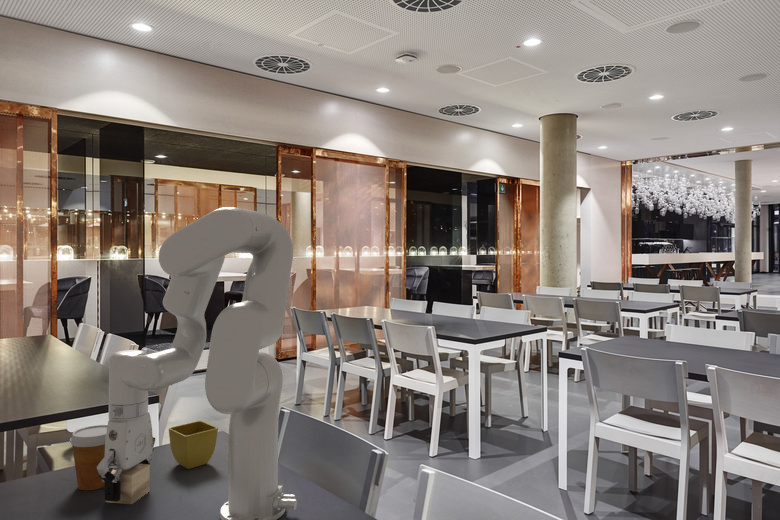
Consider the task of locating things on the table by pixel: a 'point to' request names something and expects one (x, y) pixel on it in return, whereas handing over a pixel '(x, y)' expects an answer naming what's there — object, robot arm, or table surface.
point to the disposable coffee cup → (89, 455)
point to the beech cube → (133, 483)
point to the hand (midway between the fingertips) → (128, 490)
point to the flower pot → (193, 443)
